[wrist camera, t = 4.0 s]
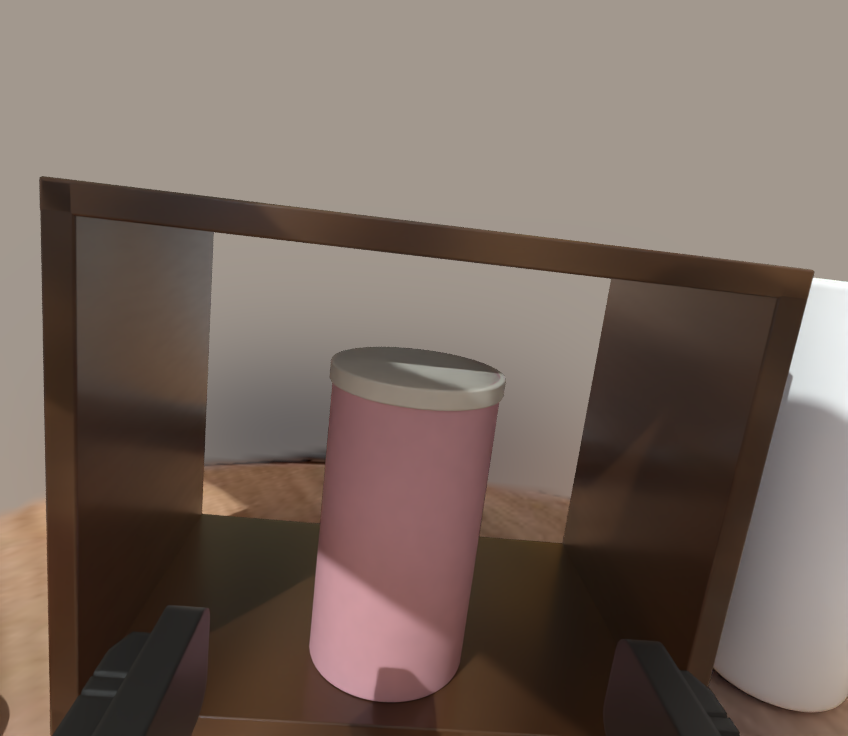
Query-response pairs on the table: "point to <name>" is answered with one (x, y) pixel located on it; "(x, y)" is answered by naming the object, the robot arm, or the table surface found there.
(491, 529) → the table surface
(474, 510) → the pink canister
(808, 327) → the drinking glass
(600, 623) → the cubby cabinet
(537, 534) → the table surface
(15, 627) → the table surface
